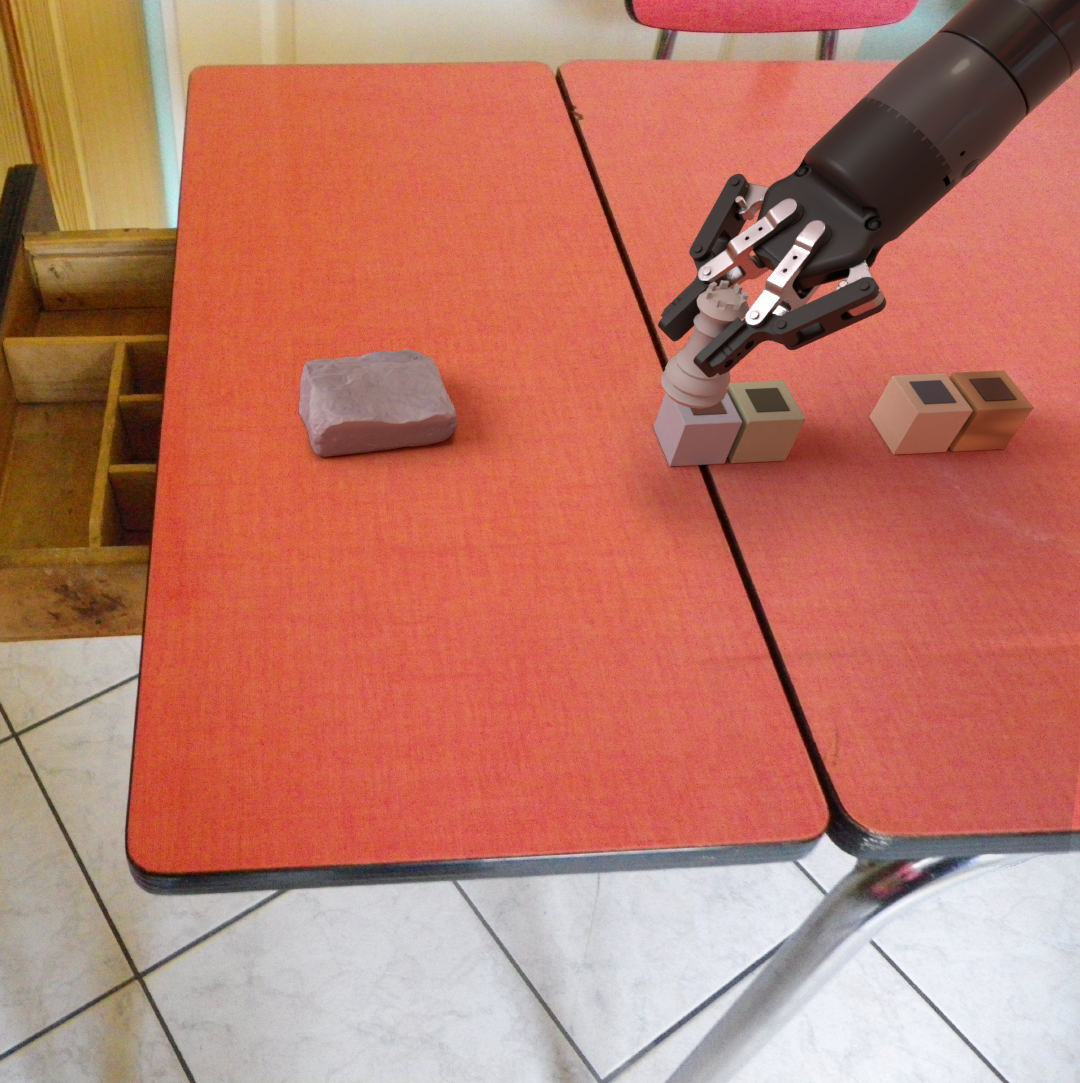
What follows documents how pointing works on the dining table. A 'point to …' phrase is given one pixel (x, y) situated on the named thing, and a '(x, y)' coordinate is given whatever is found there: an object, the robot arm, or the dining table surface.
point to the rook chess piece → (714, 317)
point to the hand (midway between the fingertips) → (684, 350)
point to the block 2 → (764, 421)
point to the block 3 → (920, 413)
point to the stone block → (374, 403)
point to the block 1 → (696, 432)
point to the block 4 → (989, 410)
